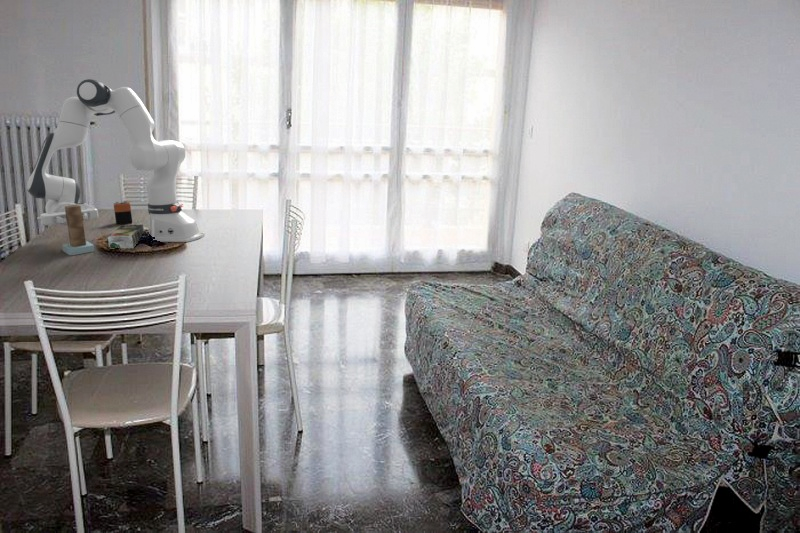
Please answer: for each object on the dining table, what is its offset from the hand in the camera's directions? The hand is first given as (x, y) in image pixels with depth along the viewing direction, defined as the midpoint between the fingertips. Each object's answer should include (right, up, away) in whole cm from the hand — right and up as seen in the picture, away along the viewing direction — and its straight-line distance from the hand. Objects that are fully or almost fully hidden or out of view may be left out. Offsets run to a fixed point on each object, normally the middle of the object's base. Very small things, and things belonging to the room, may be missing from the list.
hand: (74, 219), depth 259 cm
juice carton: (+14, -9, +15) cm, 22 cm away
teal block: (0, -12, +4) cm, 13 cm away
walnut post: (0, -9, +4) cm, 10 cm away
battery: (-2, +2, +51) cm, 51 cm away
